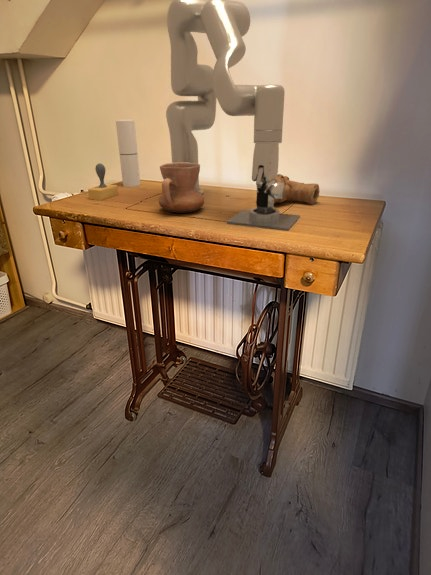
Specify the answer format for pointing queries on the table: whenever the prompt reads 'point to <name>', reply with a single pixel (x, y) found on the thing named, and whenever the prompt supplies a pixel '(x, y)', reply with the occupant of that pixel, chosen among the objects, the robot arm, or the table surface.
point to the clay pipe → (297, 190)
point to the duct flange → (264, 219)
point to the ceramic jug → (180, 187)
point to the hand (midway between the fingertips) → (265, 204)
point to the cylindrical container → (128, 152)
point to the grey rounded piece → (272, 195)
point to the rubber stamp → (102, 186)
